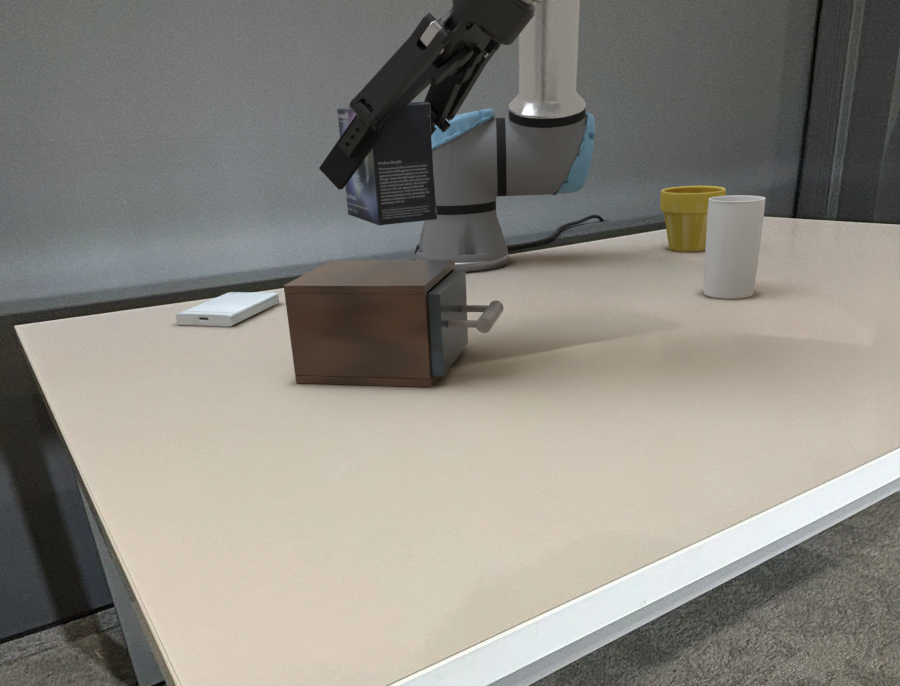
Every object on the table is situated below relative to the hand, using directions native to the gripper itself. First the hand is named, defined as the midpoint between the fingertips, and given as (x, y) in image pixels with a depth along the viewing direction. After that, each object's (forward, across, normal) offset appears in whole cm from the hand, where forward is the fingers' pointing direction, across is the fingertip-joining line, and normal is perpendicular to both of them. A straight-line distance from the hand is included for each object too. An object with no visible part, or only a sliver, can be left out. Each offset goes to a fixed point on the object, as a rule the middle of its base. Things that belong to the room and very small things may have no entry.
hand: (361, 173), depth 79 cm
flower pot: (-4, +69, -30) cm, 76 cm away
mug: (-10, +37, -37) cm, 53 cm away
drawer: (+8, -3, -17) cm, 19 cm away
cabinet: (+11, -4, -15) cm, 19 cm away
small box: (+1, 0, -5) cm, 5 cm away
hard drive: (+33, +12, +7) cm, 36 cm away
